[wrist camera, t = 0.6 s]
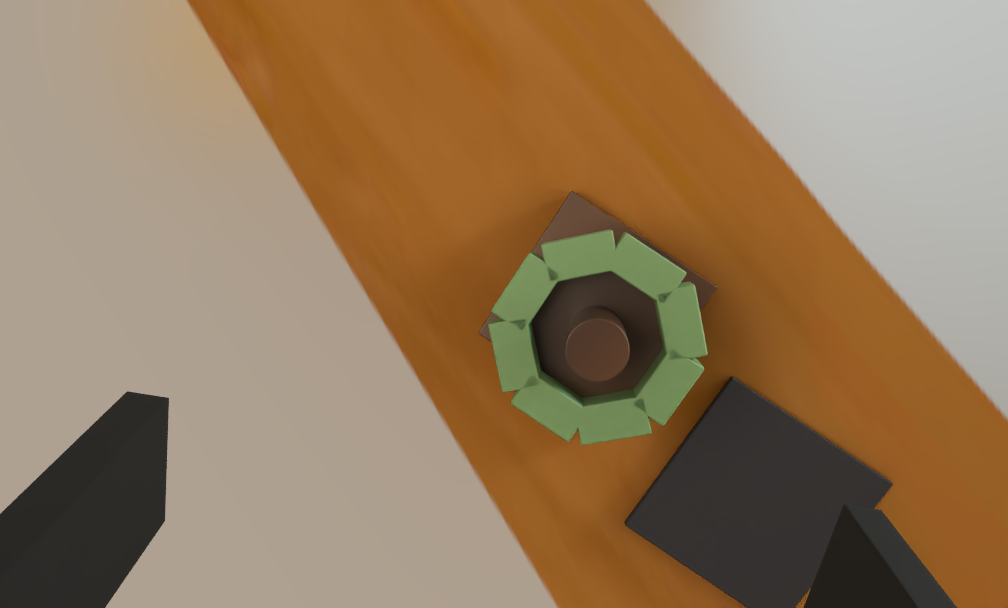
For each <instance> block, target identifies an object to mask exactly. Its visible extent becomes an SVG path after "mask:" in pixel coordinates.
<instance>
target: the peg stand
mask: <svg viewBox="0 0 1008 608" xmlns="http://www.w3.org/2000/svg"><path fill="white" fill-rule="evenodd" d="M609 229H610V230H612V231H613V235H614V240H615V244H616V243H617V242H618V240H619V239H620V237H621V236H622V234H623V233H624V232H626V233H628V234H629V235H631V236H632V237H634V238H635V239H637V240H638V241H640V242H641V243H643V244H644V245H646V246H648V247H649V248H651V249H652V250H654V251H655V252H657V253H658V254H660V255H661V256H663V257H664V258H666V259H667V260H669V261H670V262H672V263H673V264H675V265H676V266H678V267H679V268H681V269H682V270H684V271H685V272H686V276H685V277H684V279H683V280H682V281H681V283H683V282H691V283H692V284H694V285H695V287H696V292H697V298H698V303H699V309H700V312H701V310H702V309H703V308H704V306H705V305H706V303H707V302H708V301H709V299H710V298H711V296H712V295H713V294H714V292H715V291H716V289H717V286H716V285H714V284H713V283H711V282H709V281H708V280H706V279H705V278H703V277H702V276H700V275H699V274H697V273H696V272H694V271H693V270H691V269H690V268H688V267H687V266H685V265H684V264H682V263H681V262H679V261H678V260H676V259H675V258H673V257H672V256H670V255H669V254H667V253H666V252H664V251H663V250H661V249H660V248H658V247H656V246H655V245H653V244H652V243H650V242H649V241H647V240H646V239H644V238H643V237H641V236H640V235H638V234H637V233H635V232H634V231H632V230H631V229H629V228H628V227H626V226H625V225H623V224H622V223H620V222H619V221H617V220H616V219H614V218H613V217H611V216H610V215H608V214H606V213H605V212H603V211H602V210H600V209H599V208H597V207H596V206H594V205H593V204H591V203H590V202H588V201H587V200H585V199H584V198H582V197H581V196H579V195H578V194H576V193H575V192H573V191H571V192H570V194H569V195H568V197H567V198H566V200H565V202H564V203H563V205H562V206H561V208H560V209H559V211H558V212H557V214H556V215H555V217H554V218H553V220H552V221H551V223H550V224H549V226H548V227H547V229H546V230H545V232H544V233H543V235H542V236H541V238H540V239H539V241H538V243H537V244H536V246H535V247H534V249H533V250H532V251H534V252H536V253H537V254H539V255H540V256H542V257H543V253H542V248H541V245H542V244H543V243H546V242H550V241H555V240H560V239H565V238H570V237H575V236H580V235H585V234H590V233H594V232H599V231H604V230H609ZM496 318H500V317H498V316H497V315H495V314H494V313H492V312H491V314H490V315H489V317H488V318H487V320H486V321H485V323H484V324H483V326H482V328H481V329H480V331H479V332H478V333H479V334H480V335H482V336H483V337H485V338H486V339H488V340H489V341H490V342H492V340H491V336H490V331H489V326H488V324H489V323H490V322H491V321H492V320H493V319H496ZM531 323H532V328H533V333H534V337H535V342H536V347H537V352H538V357H539V362H540V367H541V370H542V371H544V372H545V373H547V374H548V375H550V376H551V377H553V378H554V379H556V380H557V381H559V382H560V383H562V384H563V385H565V386H566V387H567V388H569V389H570V390H572V391H573V392H575V393H576V394H578V395H579V396H581V397H582V398H585V397H591V396H596V395H602V394H608V393H613V392H619V391H625V390H630V389H634V388H635V386H636V385H637V383H638V382H639V380H640V379H641V378H642V376H643V375H644V373H645V372H646V371H647V369H648V368H649V366H650V365H651V364H652V362H653V361H654V359H655V358H656V356H657V355H658V354H659V352H660V351H661V349H662V348H663V346H662V341H661V335H660V330H659V325H658V319H657V314H656V309H655V304H654V299H652V298H651V297H649V296H648V295H646V294H645V293H643V292H642V291H640V290H639V289H637V288H636V287H634V286H633V285H631V284H630V283H628V282H627V281H625V280H623V279H622V278H620V277H619V276H617V275H616V274H614V273H613V272H611V271H609V272H604V273H599V274H594V275H589V276H584V277H579V278H574V279H569V280H563V281H558V282H557V283H556V285H555V286H554V288H553V289H552V291H551V292H550V294H549V295H548V297H547V298H546V300H545V301H544V303H543V304H542V306H541V307H540V309H539V310H538V312H537V313H536V315H535V316H534V318H533V319H532V321H531Z"/></svg>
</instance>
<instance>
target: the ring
mask: <svg viewBox="0 0 1008 608" xmlns="http://www.w3.org/2000/svg"><path fill="white" fill-rule="evenodd" d="M541 248H542V253H543V257H542V256H540V255H539V254H537V253H536V252H534V251H532V252H530V253H529V254H528V255H527V257H526V258H525V260H524V261H523V263H522V264H521V266H520V267H519V269H518V270H517V272H516V273H515V275H514V276H513V278H512V279H511V281H510V282H509V284H508V285H507V287H506V289H505V290H504V292H503V293H502V295H501V296H500V298H499V299H498V301H497V302H496V304H495V305H494V307H493V308H492V310H491V311H492V313H494V314H495V315H497V316H498V317H500V318H496V319H493V320H492V321H491V322H490V323H489V324H488V326H489V331H490V336H491V340H492V345H493V350H494V355H495V359H496V364H497V369H498V374H499V378H500V383H501V388H502V392H509V391H514V390H516V392H515V393H514V396H513V398H512V400H511V404H512V405H513V406H515V407H516V408H518V409H519V410H521V411H522V412H524V413H525V414H527V415H528V416H530V417H531V418H533V419H534V420H536V421H537V422H539V423H540V424H542V425H543V426H545V427H546V428H548V429H549V430H551V431H552V432H554V433H555V434H557V435H558V436H560V437H561V438H563V439H564V440H565V441H568V442H569V441H570V440H571V438H572V437H573V435H574V434H575V433H576V431H577V430H578V431H579V436H580V441H581V445H587V444H593V443H599V442H605V441H611V440H617V439H623V438H629V437H635V436H641V435H647V434H651V432H652V431H651V426H650V421H649V417H650V418H651V419H653V420H654V421H656V422H657V423H658V424H660V425H662V426H663V425H665V423H666V422H667V421H668V419H669V418H670V416H671V415H672V414H673V412H674V411H675V410H676V408H677V407H678V405H679V404H680V403H681V401H682V400H683V398H684V397H685V396H686V394H687V393H688V392H689V390H690V389H691V387H692V386H693V385H694V383H695V382H696V381H697V379H698V378H699V376H700V375H701V374H702V372H703V371H704V367H703V366H702V365H701V363H700V362H699V361H698V360H697V359H695V358H697V357H702V356H706V355H707V354H708V352H707V347H706V341H705V336H704V330H703V325H702V320H701V314H700V309H699V303H698V298H697V292H696V287H695V285H694V284H692V283H691V282H683V283H681V281H682V280H683V279H684V277H685V276H686V272H685V271H684V270H682V269H681V268H679V267H678V266H676V265H675V264H673V263H672V262H670V261H669V260H667V259H666V258H664V257H663V256H661V255H660V254H658V253H657V252H655V251H654V250H652V249H651V248H649V247H648V246H646V245H644V244H643V243H641V242H640V241H638V240H637V239H635V238H634V237H632V236H631V235H629V234H628V233H626V232H624V233H623V234H622V236H621V237H620V239H619V240H618V242H617V243H616V244H615V240H614V235H613V231H612V230H610V229H609V230H604V231H599V232H594V233H590V234H585V235H580V236H575V237H570V238H565V239H560V240H555V241H550V242H546V243H543V244H542V245H541ZM609 271H611V272H613V273H614V274H616V275H617V276H619V277H620V278H622V279H623V280H625V281H627V282H628V283H630V284H631V285H633V286H634V287H636V288H637V289H639V290H640V291H642V292H643V293H645V294H646V295H648V296H649V297H651V298H652V299H654V304H655V309H656V314H657V319H658V325H659V330H660V335H661V341H662V346H663V348H662V349H661V351H660V352H659V354H658V355H657V356H656V358H655V359H654V361H653V362H652V364H651V365H650V366H649V368H648V369H647V371H646V372H645V373H644V375H643V376H642V378H641V379H640V380H639V382H638V383H637V385H636V386H635V388H634V389H630V390H625V391H619V392H613V393H608V394H602V395H596V396H591V397H585V398H582V397H581V396H579V395H578V394H576V393H575V392H573V391H572V390H570V389H569V388H567V387H566V386H565V385H563V384H562V383H560V382H559V381H557V380H556V379H554V378H553V377H551V376H550V375H548V374H547V373H545V372H544V371H542V370H541V367H540V362H539V357H538V352H537V347H536V342H535V337H534V333H533V328H532V323H531V321H532V319H533V318H534V316H535V315H536V313H537V312H538V310H539V309H540V307H541V306H542V304H543V303H544V301H545V300H546V298H547V297H548V295H549V294H550V292H551V291H552V289H553V288H554V286H555V285H556V283H557V282H558V281H563V280H569V279H574V278H579V277H584V276H589V275H594V274H599V273H604V272H609Z"/></svg>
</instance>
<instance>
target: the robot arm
mask: <svg viewBox="0 0 1008 608" xmlns="http://www.w3.org/2000/svg"><path fill="white" fill-rule="evenodd" d="M168 407H169V398H165V397H159V396H152V395H145V394H140V393H133V392H126V393H125V394H124V395H123V396H122V397H121V398H120V399H119V400H118V401H117V402H116V403H115V404H114V405H113V406H112V407H111V408H110V409H109V410H108V411H107V412H105V413H104V414H103V415H102V416H101V417H100V418H99V419H98V420H97V421H96V422H95V423H94V424H93V425H92V426H91V427H90V428H89V429H88V430H87V431H86V432H85V433H84V434H83V435H82V436H81V437H79V439H77V440H76V441H75V442H74V443H73V444H72V445H71V446H70V447H69V448H68V449H67V450H66V451H65V452H64V453H63V454H62V455H61V456H60V457H59V458H58V459H57V460H56V461H55V462H54V463H53V464H52V465H51V466H49V467H48V468H47V469H46V470H45V471H44V472H43V473H42V474H41V475H40V476H39V477H38V478H37V479H36V480H35V481H34V482H33V483H32V484H31V485H30V486H29V487H28V488H27V489H26V490H25V491H24V492H23V493H22V494H20V495H19V496H18V497H17V499H15V500H14V501H13V502H12V503H11V504H10V505H9V506H8V507H7V508H6V509H5V510H4V511H3V512H2V513H1V514H0V608H105V607H106V605H107V604H108V603H109V601H110V600H111V598H112V597H113V595H114V594H115V592H116V591H117V590H118V588H119V587H120V585H121V584H122V582H123V581H124V579H125V578H126V576H127V575H128V574H129V572H130V571H131V569H132V568H133V566H134V565H135V563H136V562H137V561H138V559H139V558H140V556H141V555H142V553H143V552H144V550H145V549H146V547H147V546H148V545H149V543H150V541H151V540H152V539H153V537H154V536H155V534H156V533H157V531H158V530H159V529H160V527H161V526H162V524H163V523H164V521H165V497H166V468H167V438H168V436H167V435H168ZM804 608H957V607H956V606H955V604H954V603H953V602H952V601H951V599H950V598H949V597H948V595H947V594H946V593H945V592H944V590H943V589H942V588H941V586H940V585H939V584H938V583H937V581H936V580H935V579H934V577H933V576H932V575H931V574H930V572H929V571H928V570H927V568H926V567H925V566H924V565H923V563H922V562H921V561H920V559H919V558H918V557H917V556H916V554H915V553H914V552H913V550H912V549H911V548H910V547H909V545H908V544H907V543H906V541H905V540H904V539H903V538H902V536H901V535H900V534H899V532H898V531H897V530H896V529H895V527H894V526H893V525H892V523H891V522H890V521H889V520H888V518H887V517H886V516H885V514H884V513H883V512H882V511H881V510H877V509H871V508H865V507H858V506H852V505H846V504H844V505H843V508H842V510H841V513H840V515H839V518H838V521H837V523H836V526H835V528H834V531H833V533H832V536H831V539H830V541H829V544H828V546H827V549H826V551H825V554H824V557H823V559H822V562H821V564H820V567H819V569H818V572H817V575H816V577H815V580H814V582H813V585H812V587H811V590H810V593H809V595H808V598H807V600H806V603H805V605H804Z"/></svg>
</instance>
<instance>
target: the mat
mask: <svg viewBox="0 0 1008 608" xmlns="http://www.w3.org/2000/svg"><path fill="white" fill-rule="evenodd" d="M891 486H892V483H891V482H890V481H889V480H887V479H886V478H884V477H883V476H881V475H880V474H878V473H877V472H875V471H874V470H872V469H871V468H869V467H868V466H866V465H865V464H863V463H862V462H860V461H859V460H857V459H855V458H854V457H852V456H851V455H849V454H848V453H846V452H845V451H843V450H842V449H840V448H839V447H837V446H836V445H834V444H833V443H831V442H830V441H828V440H827V439H825V438H824V437H822V436H821V435H819V434H818V433H816V432H815V431H813V430H812V429H810V428H809V427H807V426H806V425H804V424H803V423H801V422H800V421H798V420H797V419H795V418H794V417H792V416H791V415H789V414H788V413H786V412H785V411H783V410H782V409H780V408H779V407H777V406H776V405H774V404H773V403H771V402H770V401H768V400H767V399H765V398H764V397H762V396H761V395H759V394H758V393H756V392H755V391H753V390H752V389H750V388H749V387H747V386H746V385H744V384H743V383H741V382H740V381H738V380H736V379H735V378H733V377H730V378H729V380H728V381H727V382H726V384H725V385H724V387H723V388H722V389H721V391H720V392H719V393H718V395H717V396H716V398H715V399H714V400H713V402H712V403H711V404H710V406H709V407H708V408H707V410H706V411H705V413H704V414H703V415H702V417H701V418H700V419H699V421H698V422H697V424H696V425H695V426H694V428H693V429H692V430H691V432H690V433H689V434H688V436H687V437H686V439H685V440H684V441H683V443H682V444H681V445H680V447H679V448H678V449H677V451H676V452H675V454H674V455H673V456H672V458H671V459H670V460H669V462H668V463H667V465H666V466H665V467H664V469H663V470H662V471H661V473H660V474H659V475H658V477H657V478H656V480H655V481H654V482H653V484H652V485H651V486H650V488H649V489H648V491H647V492H646V493H645V495H644V496H643V497H642V499H641V500H640V501H639V503H638V504H637V506H636V507H635V508H634V510H633V511H632V512H631V514H630V515H629V516H628V518H627V519H626V521H625V525H626V526H627V527H629V528H630V529H632V530H633V531H635V532H636V533H637V534H639V535H640V536H642V537H643V538H645V539H646V540H648V541H649V542H651V543H652V544H654V545H655V546H657V547H658V548H660V549H661V550H663V551H664V552H666V553H667V554H669V555H670V556H672V557H673V558H675V559H676V560H678V561H679V562H681V563H682V564H683V565H685V566H686V567H688V568H689V569H691V570H692V571H694V572H695V573H697V574H698V575H700V576H701V577H703V578H704V579H706V580H707V581H709V582H710V583H712V584H713V585H715V586H716V587H718V588H719V589H721V590H722V591H724V592H725V593H726V594H728V595H729V596H731V597H732V598H734V599H735V600H737V601H738V602H740V603H741V604H743V605H744V606H746V607H747V608H795V607H796V605H797V604H798V603H799V602H800V600H801V599H802V598H803V597H804V595H805V594H806V593H807V592H808V590H809V589H810V588H811V587H812V585H813V582H814V580H815V577H816V575H817V572H818V569H819V567H820V564H821V562H822V559H823V557H824V554H825V551H826V549H827V546H828V544H829V541H830V539H831V536H832V533H833V531H834V528H835V526H836V523H837V521H838V518H839V515H840V513H841V510H842V508H843V505H844V504H846V505H852V506H858V507H865V508H871V509H874V507H875V506H876V505H877V503H878V502H879V501H880V500H881V498H882V497H883V496H884V495H885V493H886V492H887V491H888V490H889V488H890V487H891Z"/></svg>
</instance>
